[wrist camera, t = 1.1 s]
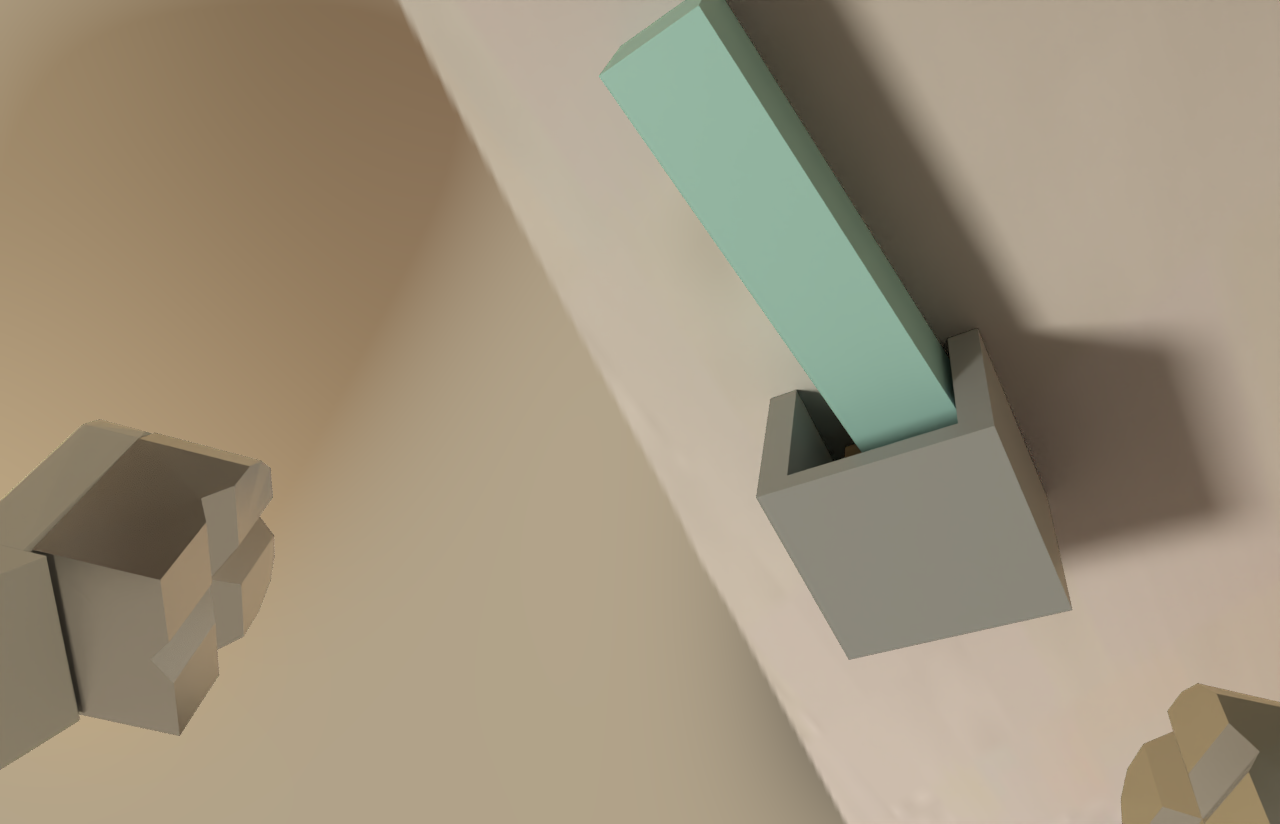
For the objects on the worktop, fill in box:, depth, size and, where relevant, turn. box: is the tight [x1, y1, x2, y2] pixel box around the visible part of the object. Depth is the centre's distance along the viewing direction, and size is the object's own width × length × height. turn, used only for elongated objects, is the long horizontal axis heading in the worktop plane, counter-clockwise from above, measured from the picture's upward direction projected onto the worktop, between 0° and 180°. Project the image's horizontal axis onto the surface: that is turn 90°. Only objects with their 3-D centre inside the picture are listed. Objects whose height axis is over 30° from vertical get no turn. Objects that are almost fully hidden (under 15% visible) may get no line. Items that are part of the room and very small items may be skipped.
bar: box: [599, 0, 958, 453], centre depth 38 cm, size 18×4×4 cm, turn 36°
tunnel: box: [756, 328, 1072, 660], centre depth 42 cm, size 9×9×7 cm
